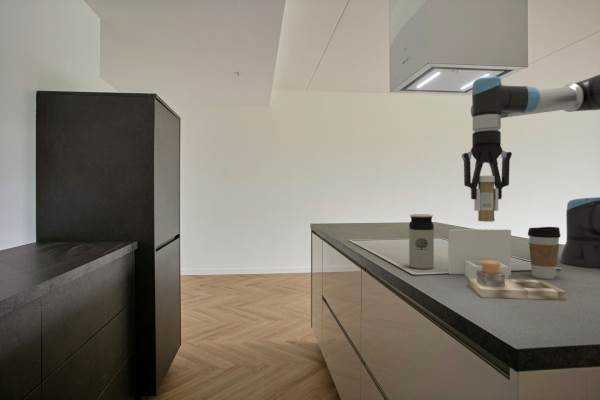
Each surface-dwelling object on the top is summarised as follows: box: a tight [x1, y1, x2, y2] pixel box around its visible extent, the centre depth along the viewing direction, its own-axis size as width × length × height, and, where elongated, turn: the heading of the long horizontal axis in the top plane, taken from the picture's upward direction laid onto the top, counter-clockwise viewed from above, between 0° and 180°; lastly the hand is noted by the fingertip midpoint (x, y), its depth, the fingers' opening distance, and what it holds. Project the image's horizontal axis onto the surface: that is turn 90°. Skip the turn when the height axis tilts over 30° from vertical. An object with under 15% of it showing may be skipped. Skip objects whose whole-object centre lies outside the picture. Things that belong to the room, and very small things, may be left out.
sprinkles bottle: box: [477, 175, 495, 223], centre depth 114 cm, size 5×5×13 cm
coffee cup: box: [527, 226, 562, 280], centre depth 117 cm, size 8×8×15 cm
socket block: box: [467, 270, 567, 301], centre depth 99 cm, size 19×12×5 cm, turn 81°
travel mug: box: [408, 213, 435, 270], centre depth 133 cm, size 8×8×18 cm
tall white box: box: [447, 228, 512, 279], centre depth 116 cm, size 18×12×14 cm, turn 81°
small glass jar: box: [481, 260, 500, 274], centre depth 100 cm, size 4×4×5 cm
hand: (486, 210), depth 114 cm, fingers closed on sprinkles bottle, 4 cm apart
